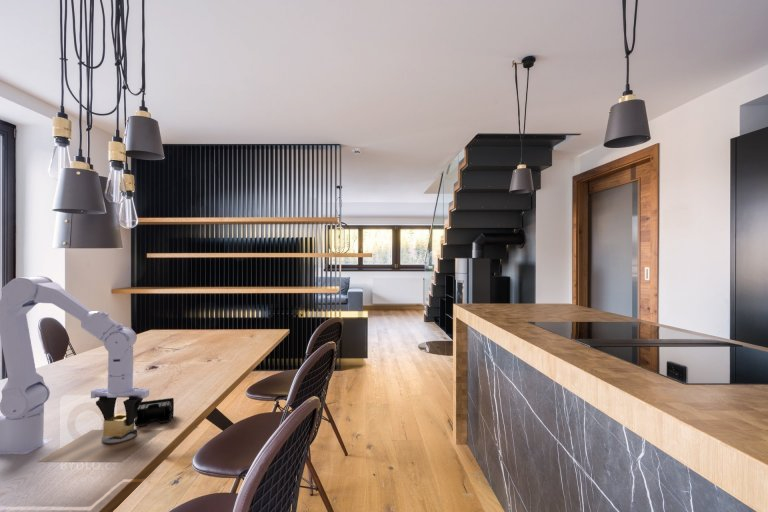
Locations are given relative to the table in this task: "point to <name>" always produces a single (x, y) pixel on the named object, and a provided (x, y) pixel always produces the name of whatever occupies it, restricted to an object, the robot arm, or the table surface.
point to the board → (99, 448)
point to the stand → (119, 438)
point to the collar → (116, 426)
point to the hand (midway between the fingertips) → (119, 424)
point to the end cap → (154, 411)
